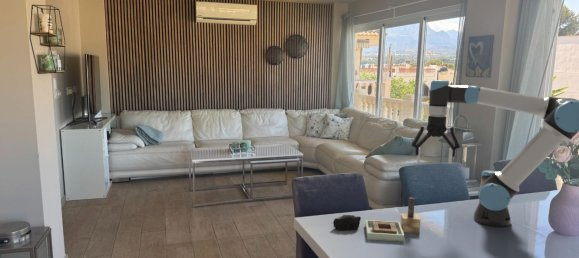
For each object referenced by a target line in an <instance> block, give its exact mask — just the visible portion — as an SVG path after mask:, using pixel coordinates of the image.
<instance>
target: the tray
mask: <svg viewBox="0 0 579 258" xmlns="http://www.w3.org/2000/svg"><path fill="white" fill-rule="evenodd" d="M385 221H386V222H387V223H395V226H396V230H397V234H386V233H373V229H372V226H373V222H381V220H372V219H365V225H364V226H365V232H366V239H367V240H368V241H384V242H396V241H397V243H398V242H399V243H400V242H401V243H405V232H403V230H402V227H401V221H390V220H385Z"/></svg>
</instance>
